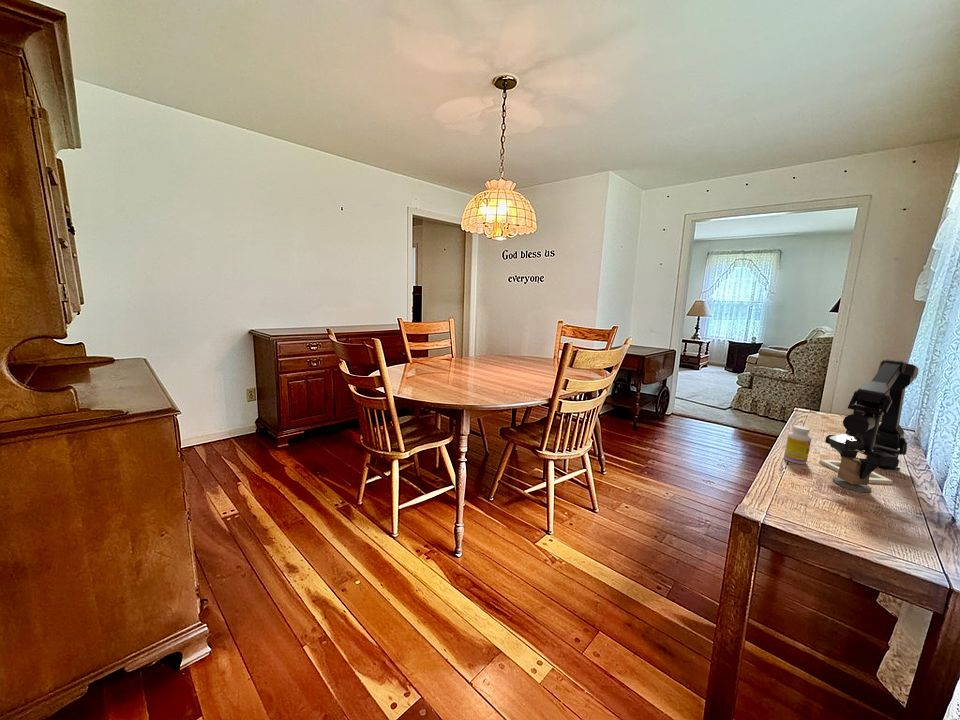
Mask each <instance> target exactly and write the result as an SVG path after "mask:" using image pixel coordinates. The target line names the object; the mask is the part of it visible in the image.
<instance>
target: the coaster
mask: <svg viewBox="0 0 960 720" xmlns="http://www.w3.org/2000/svg"><path fill="white" fill-rule="evenodd" d="M832 482H833V484H836V485H837V486H840V487H842V488H844V489H847V490H850V491H854V492H860V493H871V492H872V487H871V486H870V485H869V484H868V485H859V484H851V483H849V482H847V481H845V480H843V479H841V478H839V477H838V476H835V477H834V476H833V478H832Z"/></svg>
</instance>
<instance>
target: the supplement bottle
mask: <svg viewBox="0 0 960 720" xmlns="http://www.w3.org/2000/svg"><path fill="white" fill-rule="evenodd" d="M810 431H811V430H810V428H808V427H807V426H802V425H798V424H797V425H793V426H792V431H790V432H788V434H787V438H786V444H785V448H784V452H783V453H784V454H783V458H784V459H785V460H786V461H788V462H790V463H794V464H797V465H805V464H806V463H808V459H809V453H810V447H811V443H812V437H811V436H810V435H809V433H810Z"/></svg>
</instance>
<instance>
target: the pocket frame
mask: <svg viewBox="0 0 960 720" xmlns="http://www.w3.org/2000/svg"><path fill="white" fill-rule="evenodd" d="M840 463H841V460H833V459H832V460H831V459H819V464H821V465H823V466H825V467H827V468H828V469H831V470H832V471H835V472H837V473H838V472H839V468H840ZM868 484H878V485H879V484H881V485H893V480H892V479H890V478H888V477H886V476H884V475H882V474H879V473H877V472H875V471H873V472H871V474H870V478H869V482H868Z"/></svg>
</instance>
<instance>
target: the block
mask: <svg viewBox="0 0 960 720" xmlns="http://www.w3.org/2000/svg"><path fill="white" fill-rule="evenodd" d="M859 458H860V457H858V456H856V457H842V459H841V458H840V459H841V460H840V461H841V463H840V465H839V467H840V468H839V472H837V477H839V478H841V479H843V480H845V481H847V482H849V483H851V484H859V485H868V486H869V483H868V482H869V478H871V476H870V474H871V473H870V474H869V475H868V476H867V477H866V478H865V479H860V470H861V465H862V463H861V461H860V460H859Z"/></svg>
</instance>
